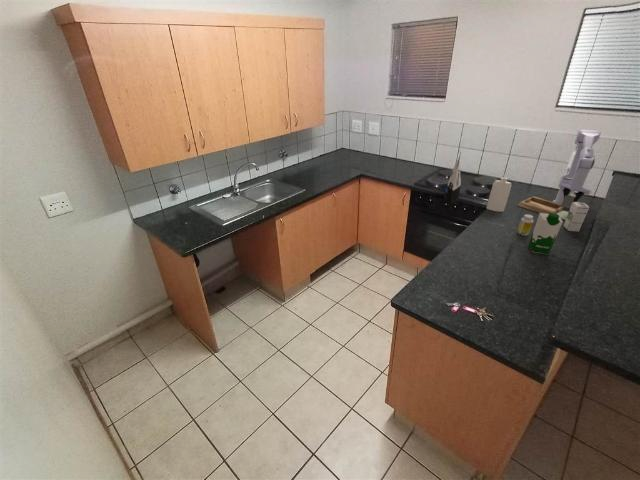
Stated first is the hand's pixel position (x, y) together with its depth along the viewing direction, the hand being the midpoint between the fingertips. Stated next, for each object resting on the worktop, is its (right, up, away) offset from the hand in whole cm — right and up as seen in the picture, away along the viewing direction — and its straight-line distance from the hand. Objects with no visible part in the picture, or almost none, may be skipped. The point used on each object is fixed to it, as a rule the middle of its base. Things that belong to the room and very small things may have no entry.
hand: (569, 202), depth 181 cm
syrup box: (-7, -16, -9) cm, 19 cm away
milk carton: (-37, -27, -28) cm, 53 cm away
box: (0, -2, +1) cm, 2 cm away
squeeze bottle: (-36, -3, +13) cm, 38 cm away
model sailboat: (-56, +6, +29) cm, 63 cm away
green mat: (0, -7, +4) cm, 8 cm away
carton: (-7, -2, +14) cm, 15 cm away
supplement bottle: (-35, -18, -13) cm, 41 cm away
